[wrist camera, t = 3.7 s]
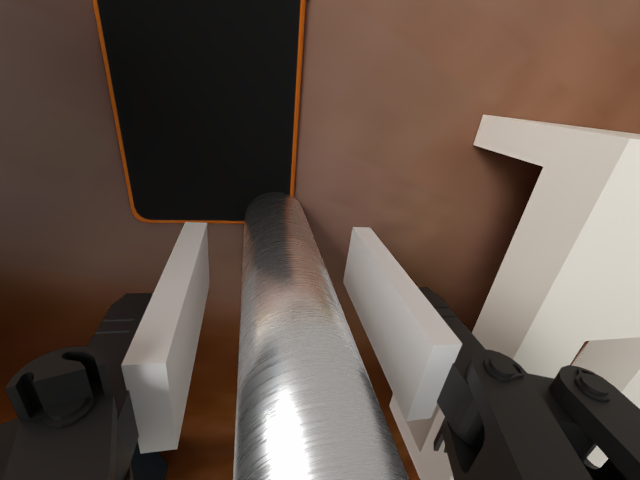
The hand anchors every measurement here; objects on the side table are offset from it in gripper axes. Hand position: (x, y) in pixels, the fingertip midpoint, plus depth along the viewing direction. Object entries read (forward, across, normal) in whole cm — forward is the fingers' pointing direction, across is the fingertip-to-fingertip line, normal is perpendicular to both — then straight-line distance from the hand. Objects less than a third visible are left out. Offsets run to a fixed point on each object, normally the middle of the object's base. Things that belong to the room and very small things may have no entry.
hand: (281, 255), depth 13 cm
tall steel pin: (+4, 0, 0) cm, 4 cm away
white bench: (+4, +16, -5) cm, 17 cm away
